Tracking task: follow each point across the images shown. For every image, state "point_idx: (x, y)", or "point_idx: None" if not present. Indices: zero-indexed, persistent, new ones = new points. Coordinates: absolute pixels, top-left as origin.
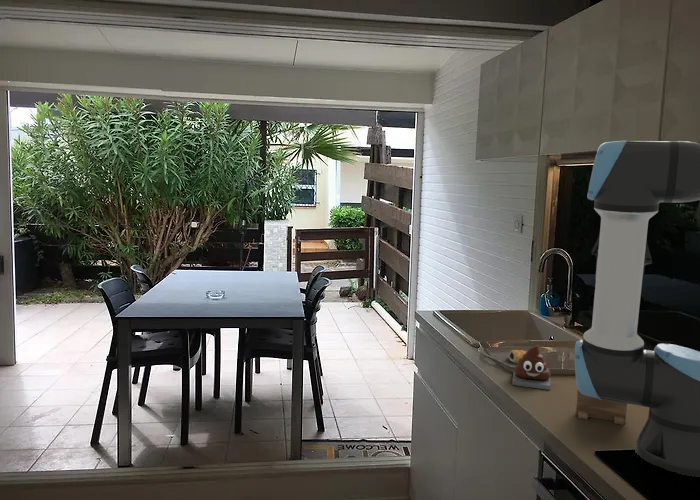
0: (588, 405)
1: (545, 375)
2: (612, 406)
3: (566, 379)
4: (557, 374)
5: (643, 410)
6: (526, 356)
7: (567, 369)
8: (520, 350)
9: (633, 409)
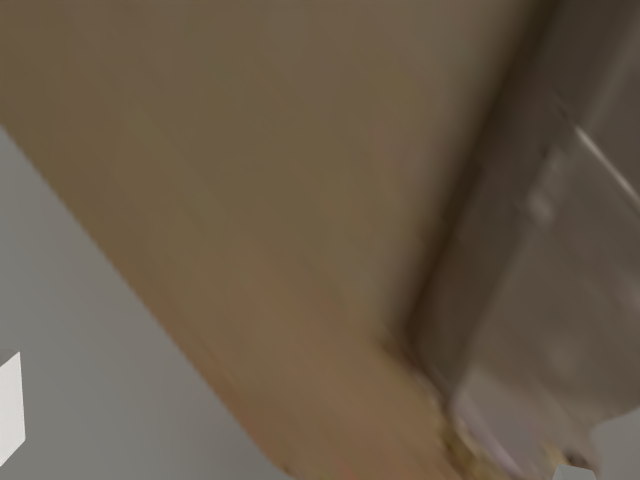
0: None
1: None
2: None
3: (465, 31)
4: (533, 44)
5: (111, 52)
6: None
7: (559, 147)
8: None
9: (126, 23)
